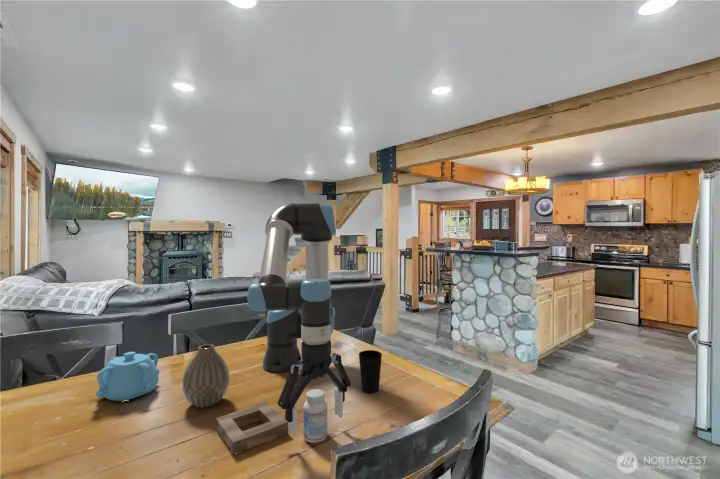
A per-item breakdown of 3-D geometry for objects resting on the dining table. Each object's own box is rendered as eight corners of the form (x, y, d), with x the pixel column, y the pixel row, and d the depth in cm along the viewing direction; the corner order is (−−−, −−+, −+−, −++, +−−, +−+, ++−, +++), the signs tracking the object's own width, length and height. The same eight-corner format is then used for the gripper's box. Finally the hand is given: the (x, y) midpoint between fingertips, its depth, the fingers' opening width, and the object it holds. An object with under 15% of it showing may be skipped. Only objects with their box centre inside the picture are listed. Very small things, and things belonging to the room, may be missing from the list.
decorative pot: (165, 381, 121) (165, 343, 121) (148, 403, 105) (148, 359, 105) (113, 386, 117) (113, 347, 117) (87, 409, 101) (87, 363, 101)
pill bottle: (304, 430, 90) (304, 388, 89) (327, 429, 90) (327, 387, 90) (302, 444, 83) (302, 399, 83) (327, 443, 84) (327, 398, 84)
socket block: (215, 429, 90) (215, 417, 90) (266, 412, 99) (266, 401, 99) (233, 455, 79) (233, 442, 79) (288, 433, 88) (288, 422, 88)
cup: (380, 396, 109) (379, 358, 109) (356, 394, 110) (356, 357, 110) (383, 385, 116) (383, 350, 116) (361, 384, 118) (361, 349, 118)
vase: (238, 396, 109) (238, 342, 109) (207, 417, 97) (207, 355, 96) (205, 390, 113) (205, 338, 113) (172, 409, 101) (172, 350, 101)
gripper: (276, 355, 76) (277, 450, 76) (363, 334, 91) (364, 413, 91) (263, 346, 82) (263, 435, 82) (347, 329, 97) (347, 403, 97)
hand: (316, 424), depth 86 cm, fingers open, 13 cm apart
